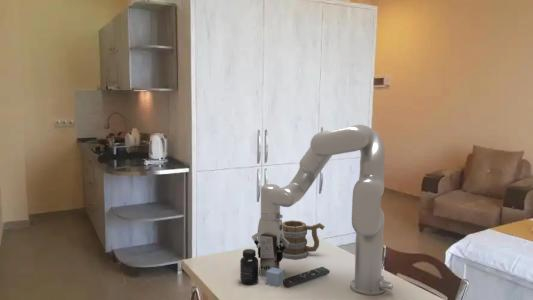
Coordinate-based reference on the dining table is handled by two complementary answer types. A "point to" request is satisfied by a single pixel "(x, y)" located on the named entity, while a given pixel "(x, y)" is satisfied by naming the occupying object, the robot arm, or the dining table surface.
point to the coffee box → (268, 253)
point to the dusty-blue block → (274, 276)
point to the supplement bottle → (249, 267)
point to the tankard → (299, 239)
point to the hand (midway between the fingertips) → (270, 258)
